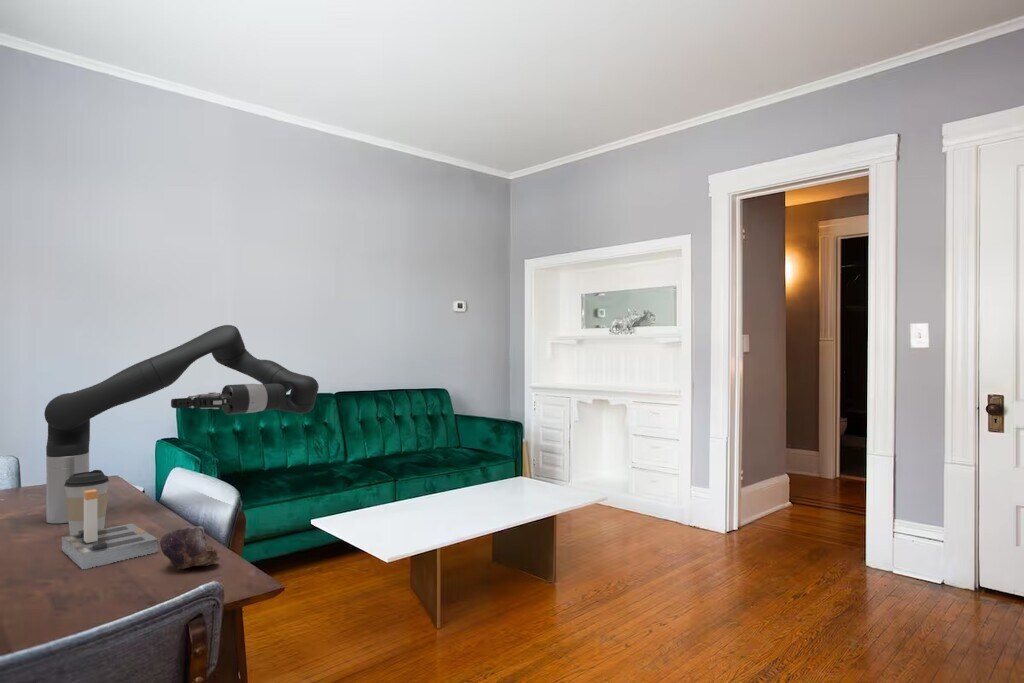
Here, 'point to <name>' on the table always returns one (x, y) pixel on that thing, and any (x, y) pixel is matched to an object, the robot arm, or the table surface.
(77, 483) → the coffee cup
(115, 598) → the table surface
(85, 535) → the orange-capped grey post
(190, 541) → the rock
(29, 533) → the table surface
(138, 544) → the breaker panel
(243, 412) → the robot arm
